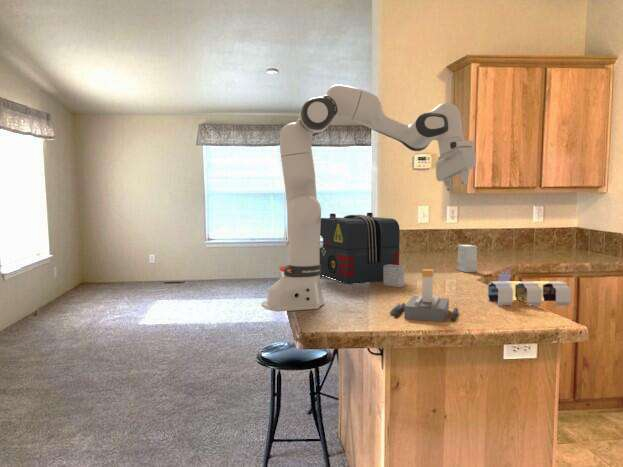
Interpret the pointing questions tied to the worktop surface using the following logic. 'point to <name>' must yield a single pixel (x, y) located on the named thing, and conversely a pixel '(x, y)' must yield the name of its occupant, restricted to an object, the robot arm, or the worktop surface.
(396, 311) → the cords
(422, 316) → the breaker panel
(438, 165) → the robot arm
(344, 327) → the worktop surface
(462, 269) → the small box
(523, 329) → the worktop surface
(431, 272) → the lever
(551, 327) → the worktop surface
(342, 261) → the power unit
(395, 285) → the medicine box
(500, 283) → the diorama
